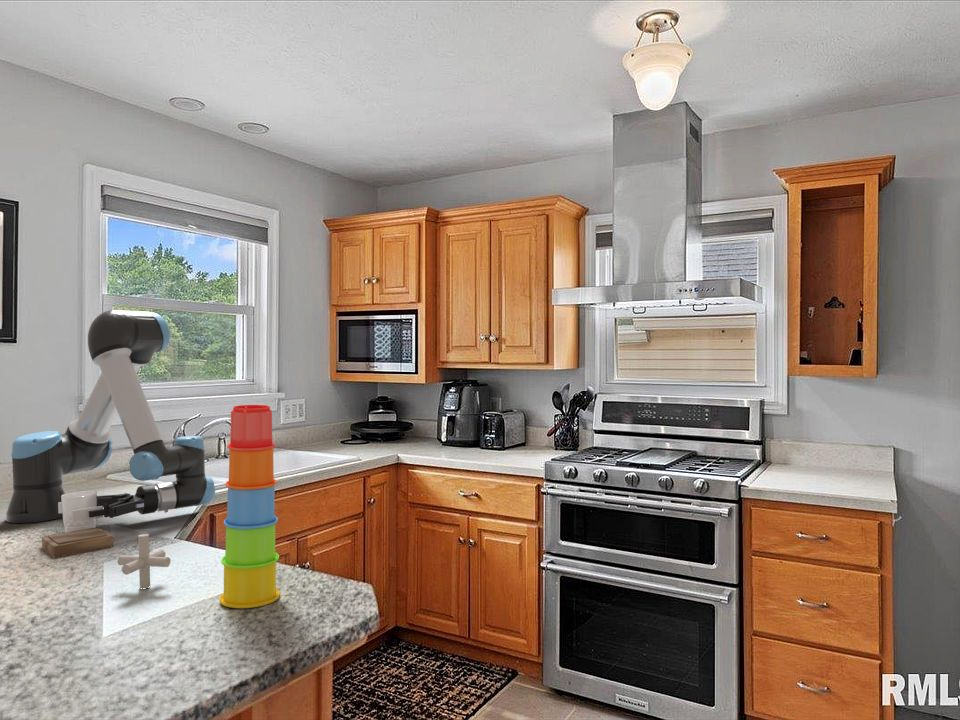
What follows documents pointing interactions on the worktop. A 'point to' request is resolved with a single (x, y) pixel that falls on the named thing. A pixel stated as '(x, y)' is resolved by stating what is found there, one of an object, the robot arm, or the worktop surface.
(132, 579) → the worktop surface
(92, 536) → the walnut board
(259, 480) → the stacking cups
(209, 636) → the worktop surface
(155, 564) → the beige jack
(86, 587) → the worktop surface
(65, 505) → the white cup
